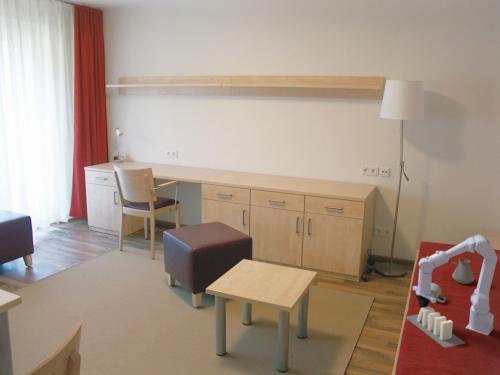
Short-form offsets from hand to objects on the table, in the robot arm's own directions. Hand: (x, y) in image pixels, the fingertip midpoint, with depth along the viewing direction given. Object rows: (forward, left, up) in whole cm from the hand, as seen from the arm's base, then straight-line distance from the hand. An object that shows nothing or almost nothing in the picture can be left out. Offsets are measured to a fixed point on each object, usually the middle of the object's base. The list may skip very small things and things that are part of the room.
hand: (423, 310), depth 206 cm
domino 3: (-7, +4, -6) cm, 10 cm away
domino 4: (-10, +6, -6) cm, 13 cm away
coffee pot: (+6, -58, -6) cm, 59 cm away
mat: (-7, +4, -6) cm, 10 cm away
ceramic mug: (+5, -27, -6) cm, 28 cm away
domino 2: (-3, +2, -6) cm, 7 cm away
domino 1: (0, 0, -6) cm, 6 cm away
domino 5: (-14, +8, -6) cm, 17 cm away
